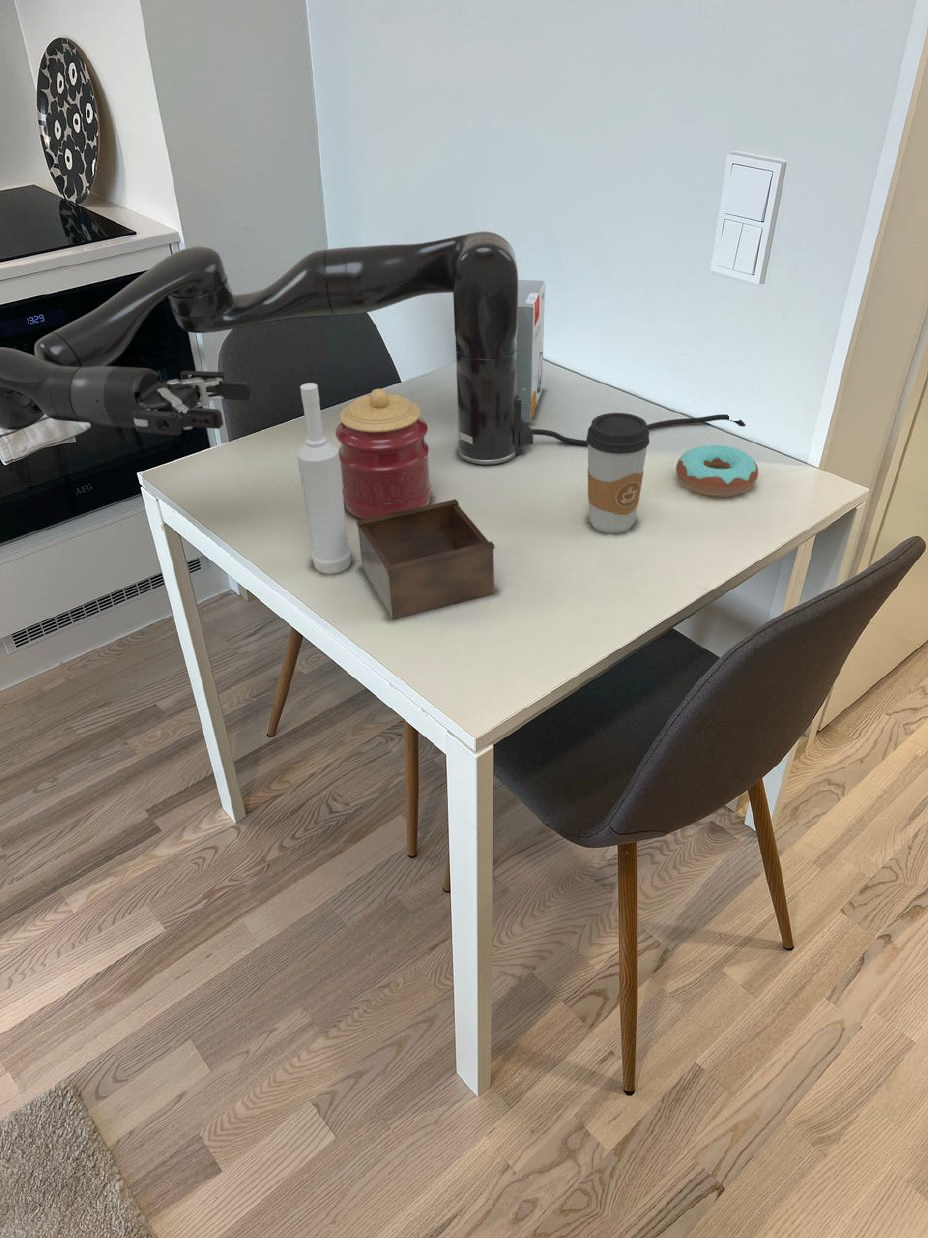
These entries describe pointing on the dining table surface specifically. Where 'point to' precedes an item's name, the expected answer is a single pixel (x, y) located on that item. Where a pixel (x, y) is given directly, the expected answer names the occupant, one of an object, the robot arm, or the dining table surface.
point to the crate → (426, 558)
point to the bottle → (322, 490)
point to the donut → (717, 470)
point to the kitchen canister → (383, 455)
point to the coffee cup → (615, 470)
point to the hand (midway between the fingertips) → (236, 404)
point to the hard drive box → (530, 345)
